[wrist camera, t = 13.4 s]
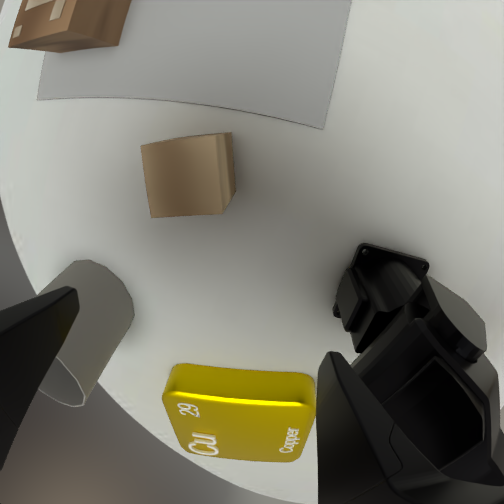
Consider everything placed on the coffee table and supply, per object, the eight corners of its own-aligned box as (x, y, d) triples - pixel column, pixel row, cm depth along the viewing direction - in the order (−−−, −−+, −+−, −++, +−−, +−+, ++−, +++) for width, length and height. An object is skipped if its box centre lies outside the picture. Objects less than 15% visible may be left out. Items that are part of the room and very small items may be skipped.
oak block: (231, 132, 17) (215, 135, 13) (235, 191, 19) (222, 214, 15) (173, 138, 18) (140, 145, 13) (179, 194, 20) (151, 218, 15)
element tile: (298, 437, 33) (298, 466, 29) (189, 427, 34) (181, 455, 30) (317, 369, 26) (321, 407, 22) (169, 357, 27) (155, 392, 23)
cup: (71, 243, 22) (-2, 304, 13) (145, 291, 23) (90, 376, 14) (60, 303, 26) (7, 364, 17) (121, 344, 27) (80, 418, 18)
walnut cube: (32, -27, 6) (78, -9, 12) (7, 47, 9) (60, 53, 14) (98, -52, 6) (139, -21, 12) (66, 30, 9) (118, 46, 15)
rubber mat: (356, -37, 11) (357, -38, 10) (322, 129, 17) (322, 129, 17) (77, -37, 10) (76, -38, 10) (38, 100, 16) (36, 100, 16)
